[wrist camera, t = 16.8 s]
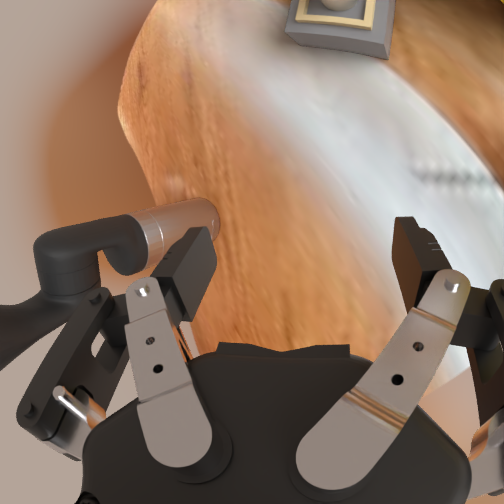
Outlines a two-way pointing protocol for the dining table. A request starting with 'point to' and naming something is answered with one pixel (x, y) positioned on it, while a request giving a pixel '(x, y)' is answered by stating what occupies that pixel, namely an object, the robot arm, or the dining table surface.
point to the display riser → (343, 26)
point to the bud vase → (339, 4)
